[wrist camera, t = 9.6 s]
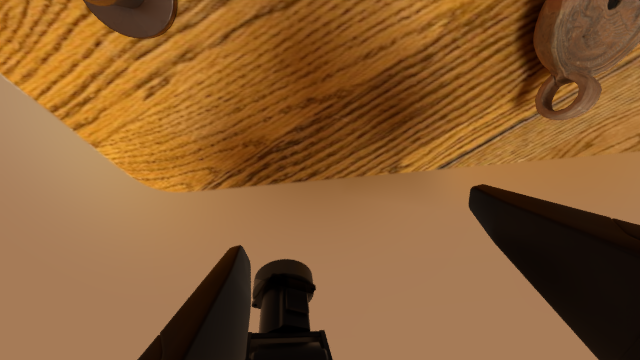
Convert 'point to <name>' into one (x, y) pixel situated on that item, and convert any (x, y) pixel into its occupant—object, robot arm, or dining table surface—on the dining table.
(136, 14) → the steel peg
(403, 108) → the dining table surface
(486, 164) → the dining table surface
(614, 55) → the oil lamp
